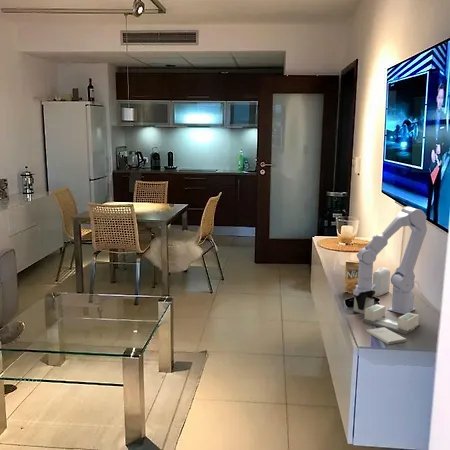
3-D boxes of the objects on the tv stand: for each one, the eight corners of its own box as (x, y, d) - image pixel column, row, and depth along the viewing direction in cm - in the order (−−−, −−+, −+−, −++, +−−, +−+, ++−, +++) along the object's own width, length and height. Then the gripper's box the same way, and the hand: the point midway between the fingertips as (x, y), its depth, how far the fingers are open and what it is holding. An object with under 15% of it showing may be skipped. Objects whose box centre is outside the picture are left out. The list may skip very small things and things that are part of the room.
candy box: (344, 292, 241) (345, 261, 238) (346, 290, 244) (347, 259, 242) (363, 295, 237) (364, 263, 234) (364, 293, 241) (366, 261, 238)
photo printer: (379, 296, 235) (380, 270, 233) (370, 294, 238) (372, 269, 236) (390, 292, 242) (392, 267, 240) (382, 290, 245) (383, 265, 243)
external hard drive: (387, 346, 181) (366, 333, 192) (406, 342, 183) (384, 330, 195) (388, 341, 180) (366, 329, 192) (407, 338, 183) (384, 326, 195)
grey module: (358, 308, 218) (359, 295, 217) (373, 312, 213) (374, 299, 212) (353, 311, 215) (354, 297, 214) (368, 315, 210) (369, 301, 209)
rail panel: (377, 314, 211) (378, 302, 210) (419, 326, 198) (420, 313, 197) (362, 322, 202) (363, 309, 201) (405, 334, 190) (406, 321, 189)
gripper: (365, 272, 219) (364, 302, 222) (347, 278, 209) (346, 309, 212) (380, 275, 214) (379, 306, 217) (362, 281, 204) (361, 314, 207)
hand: (363, 308), depth 214 cm, fingers closed on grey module, 4 cm apart
